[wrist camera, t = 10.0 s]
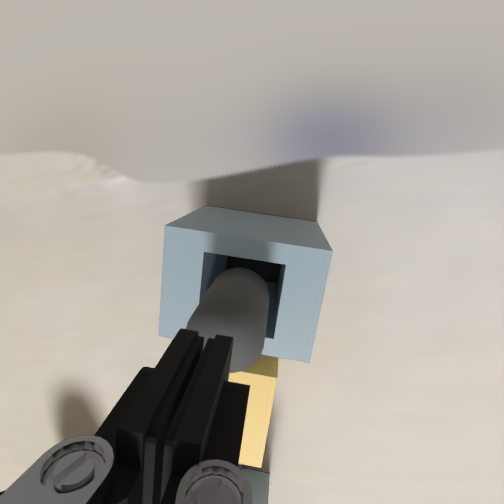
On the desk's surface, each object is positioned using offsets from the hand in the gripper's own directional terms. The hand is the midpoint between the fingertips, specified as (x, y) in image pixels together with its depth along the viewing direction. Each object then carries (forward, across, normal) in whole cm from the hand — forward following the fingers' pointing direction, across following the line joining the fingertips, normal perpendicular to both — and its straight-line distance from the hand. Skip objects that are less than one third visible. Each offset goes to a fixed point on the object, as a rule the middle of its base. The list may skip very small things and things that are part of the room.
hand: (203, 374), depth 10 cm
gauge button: (+6, 0, 0) cm, 6 cm away
